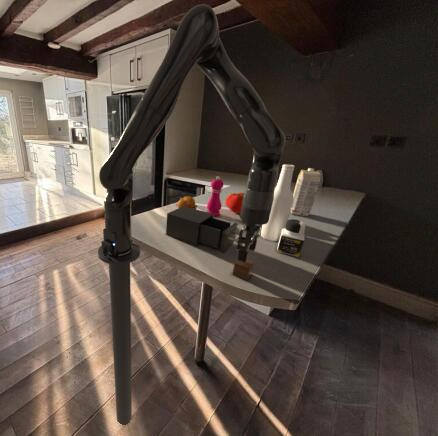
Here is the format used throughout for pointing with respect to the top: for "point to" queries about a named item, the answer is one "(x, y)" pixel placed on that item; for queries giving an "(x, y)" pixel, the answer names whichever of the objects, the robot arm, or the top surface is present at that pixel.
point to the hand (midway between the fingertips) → (246, 254)
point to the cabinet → (186, 224)
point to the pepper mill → (215, 197)
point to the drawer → (218, 233)
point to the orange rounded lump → (187, 202)
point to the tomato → (235, 202)
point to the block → (243, 269)
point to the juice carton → (305, 192)
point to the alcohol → (279, 206)
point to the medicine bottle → (292, 238)
